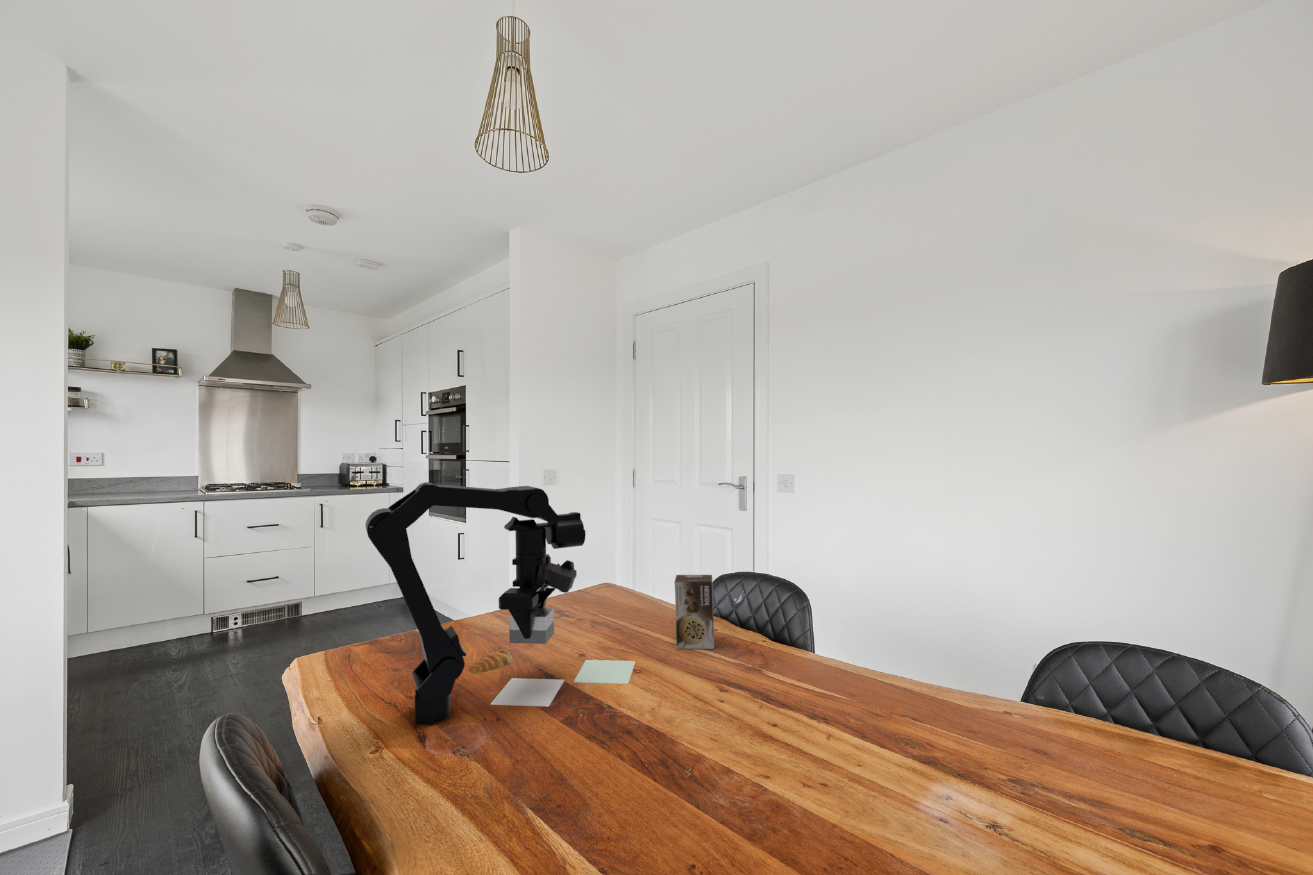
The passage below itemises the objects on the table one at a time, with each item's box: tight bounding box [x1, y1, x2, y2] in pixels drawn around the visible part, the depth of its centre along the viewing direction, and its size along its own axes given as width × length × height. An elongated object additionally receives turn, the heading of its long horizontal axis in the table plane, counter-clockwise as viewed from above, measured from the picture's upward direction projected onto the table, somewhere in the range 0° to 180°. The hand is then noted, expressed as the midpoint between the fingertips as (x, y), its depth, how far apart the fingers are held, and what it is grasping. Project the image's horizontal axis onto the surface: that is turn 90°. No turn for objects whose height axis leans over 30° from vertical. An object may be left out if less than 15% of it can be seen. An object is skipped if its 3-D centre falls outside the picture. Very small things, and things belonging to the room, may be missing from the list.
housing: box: [508, 607, 555, 645], centre depth 105 cm, size 6×7×5 cm
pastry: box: [468, 648, 514, 674], centre depth 118 cm, size 9×7×4 cm
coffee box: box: [674, 574, 715, 650], centre depth 131 cm, size 9×6×16 cm
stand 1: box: [489, 677, 565, 708], centre depth 104 cm, size 11×11×2 cm
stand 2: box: [573, 659, 636, 685], centre depth 113 cm, size 11×11×2 cm
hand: (532, 632), depth 105 cm, fingers closed on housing, 5 cm apart
